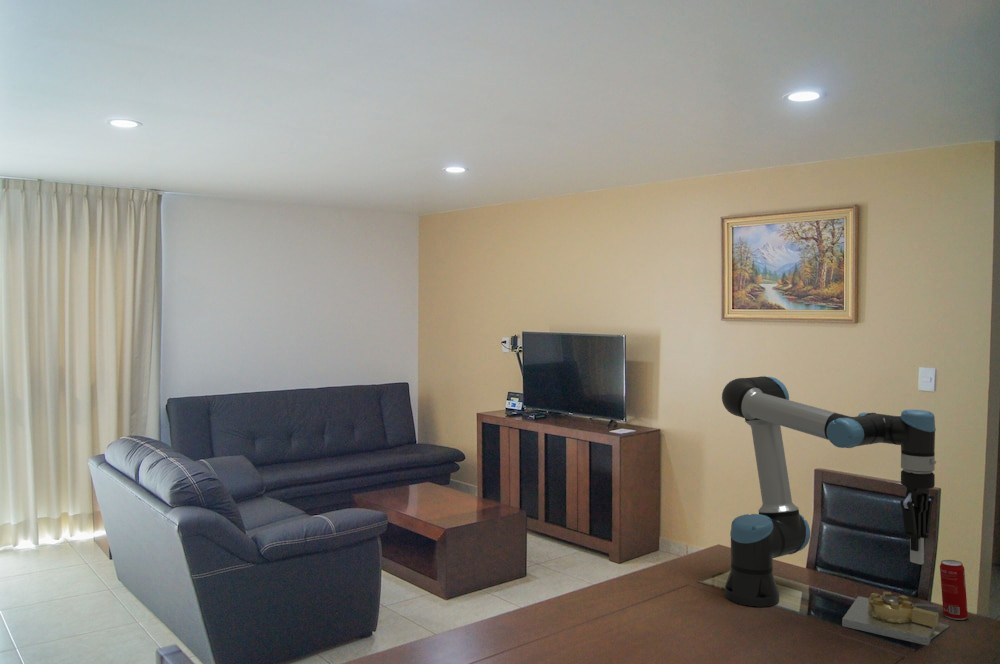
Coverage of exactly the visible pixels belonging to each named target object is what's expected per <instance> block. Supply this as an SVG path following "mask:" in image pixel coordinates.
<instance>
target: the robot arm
mask: <svg viewBox="0 0 1000 664" xmlns="http://www.w3.org/2000/svg"><path fill="white" fill-rule="evenodd" d="M789 395H790V394H789V391H788V388H787V387H786V385H785V384H784V383H783V382H782V381H780V380H779V379H778V378H776V377H772V376H765V375H763V376H754V377H740V378H735V379H733V380H730V381H729V382H728V383H726V385H725V386H724V388H723V390H722V393H721V401H722V404H723V407H724V408H725V409H726V410H727V412H729V413H730V414H732V415H734V416H736V417H738V418H743V419H744V422H745V423H746V424H747V425H749V426H750V428H751V435H752V441H753V447H754V455H755V461H756V468H757V475H758V481H759V488H760V489H759V490H760V495H761V503H762V504H761V507H760V508H758V510H757V511H758V513H751V514H749V513H747V514H742V515H738V516H737V517H735V518H733V519H732V522H731V528H730V535H729V536H730V571H729V574H728V577H727V580H726V582H725V585H724V596H725V598H727V600H729V599H730V601H731V602H732V603H735V604H738V603H739V605H742V604H743V606H746V605H748V606H747V607H753V606H756V607H758V608H764V607H765V608H766V607H772V606H775V605H777V604H778V603H779V602H780V591H779V589H778V586H777V582H776V579H775V576H774V573H773V572H774V571H773V568H774V563H773V562H774V561H773V560H774V559H775V558H776V559H777V558H780V557H783V556H787V555H794V554H796V553H798V552H800V551H802V550H803V549H805V548H806V547H807V546H808V544H809V542H810V538H811V529H810V525H809V523H808V521H807V519H805V517H804V516H803V515H802V514H800V510H799V507H798V506H797V505H795V504H794V503H793V499H792V498H793V497H792V493H791V485H790V481H789V479H790V478H789V473H788V467H787V461H786V460H787V459H786V453H785V448H784V442H783V433H782V429H781V428H782V427H785V428H788V429H791V430H794V431H798V432H801V433H805V434H808V435H811V436H814V437H817V438H820V439H823V440H827V441H829V442H830V444H832V445H833V446H834V447H836V448H841V449H852V448H853V449H854V448H855V447H861V446H867V445H875V444H890V445H895V446H900V454H901V455H900V468H901V469H902V470H901V471H900V483H901V484H900V485H902V486H904V487H905V488H906V491H905V499H904V500H902V499H901V500H900V502H899V503H900V507H901V511H902V518H903V520H902V521H903V526H904V527H903V528H904V535H905V537H908V538H909V562H911V563H913V564H917V565H923V564H925V539H928V538H929V532H930V528H931V527H930V526H931V517H932V511H933V509H932V508H933V505H934V500H935V495H932V494H930V489H934V487H935V485H936V483H935V482H936V481H935V480H936V479H935V478H936V477H935V473H934V471H935V467H936V464H937V461H936V459H935V455H936V453H935V452H936V451H935V450H936V449H935V448H936V447H935V445H936V443H935V442H936V420H935V418H936V417H935V414H934V413H933V412H932V411H930V410H924V409H903V410H902V411H901V415H900V416H898V415H891V414H882V413H876V412H861V413H859V414H858V415H857V416H849V415H845V414H843V413H838V412H835V411H831V410H827V409H823V408H820V407H815V406H813V405H808V404H805V403H801V402H797V401H793V400H790V396H789ZM756 607H755V608H756Z"/></svg>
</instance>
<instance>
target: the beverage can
mask: <svg viewBox="0 0 1000 664" xmlns="http://www.w3.org/2000/svg"><path fill="white" fill-rule="evenodd" d="M939 572H940V573H939V574H940V587H941V597H942V598H941V601H942V612H943V613H942V614H943V615H944V617H946V618H948V619H951V620H956V621H957V620H959V621H964V620H967V618H968V615H969V614H968V601H967V599H968V598H967V588H966V587H967V585H966V575H965V574H966V573H965V567H964V565H963V562H961V561H960V560H959V561H958V560H955V559H942V560H941V561H940V564H939Z"/></svg>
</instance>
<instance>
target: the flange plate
mask: <svg viewBox="0 0 1000 664" xmlns="http://www.w3.org/2000/svg"><path fill="white" fill-rule="evenodd" d="M868 598H869V597H864V596H860V595H859V596H857V597H856V598H855V600H854V601H853V603H852V604H851V606H850V607H849V609H848V610H847V612H846V613H845V614H844V616H843V617H842V619H841V621H842V622H841V625H842V627H844V628H849V629H854V630H858V631H862V632H867V633H871V634H875V635H879V636H884V637H889V638H892V639H897V640H901V641H906V642H908V643H909V642H910V643H914V644H918V645H923V646H927V647H929V646H930V643H931V640H932V638H933V636H934V634H935V631H936V628H934V627H931V626H927V625H923V624H919V623H916V622H912V621H911V622H907V623H896V622H889V621H885V620H881V619H878V618H876V617H874V616H872V615H871V614H869V612H868ZM914 607H916V608H920V609H924V610H928V611H932V612H936V613H938V621H939V620H940V615H939V613H940V612H938V611H939V610H938V606H937V605H936V604H931V603H914Z"/></svg>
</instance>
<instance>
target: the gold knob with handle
mask: <svg viewBox="0 0 1000 664" xmlns="http://www.w3.org/2000/svg"><path fill="white" fill-rule="evenodd" d="M867 598H868V612H869V614H871V615H872V616H874V617H876V618H878V619H881V620H885V621H889V622H896V623H907V622H911V621H912V622H916V623H919V624H923V625H927V626H931V627H934V628H935V629H936V628H938V627H939V620H938V613H936V612H932V611H928V610H924V609H920V608H916V607H915V603H913V602H912V601H910V598H909V597H908V596H906V595H904V594H903V595H898V596H896V595H895V596H893V593H892V592H890V591H885V590H884V591H883V592H882V594H880V593H876V592H872V593H870V596H869V597H867Z"/></svg>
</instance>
